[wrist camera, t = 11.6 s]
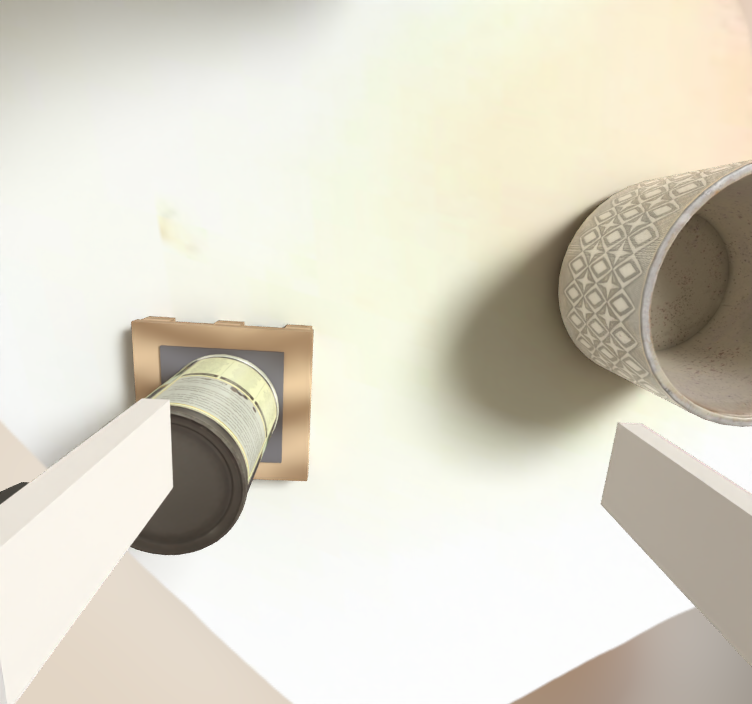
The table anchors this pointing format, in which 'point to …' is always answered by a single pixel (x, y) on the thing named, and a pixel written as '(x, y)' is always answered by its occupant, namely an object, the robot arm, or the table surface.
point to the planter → (669, 289)
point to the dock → (256, 345)
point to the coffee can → (210, 451)
